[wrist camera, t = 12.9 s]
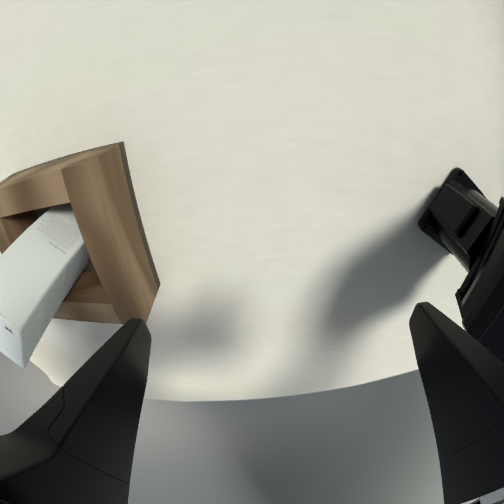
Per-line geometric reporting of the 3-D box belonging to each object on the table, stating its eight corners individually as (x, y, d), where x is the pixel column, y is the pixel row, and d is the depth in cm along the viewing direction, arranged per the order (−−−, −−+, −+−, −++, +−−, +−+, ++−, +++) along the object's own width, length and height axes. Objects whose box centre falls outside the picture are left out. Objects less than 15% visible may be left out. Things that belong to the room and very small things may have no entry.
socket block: (123, 141, 17) (88, 162, 13) (160, 284, 25) (145, 325, 21) (13, 173, 18) (-22, 197, 14) (57, 284, 25) (36, 315, 21)
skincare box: (65, 192, 19) (-32, 288, 9) (105, 218, 20) (21, 332, 10) (52, 243, 21) (-19, 338, 11) (87, 266, 23) (26, 371, 13)
